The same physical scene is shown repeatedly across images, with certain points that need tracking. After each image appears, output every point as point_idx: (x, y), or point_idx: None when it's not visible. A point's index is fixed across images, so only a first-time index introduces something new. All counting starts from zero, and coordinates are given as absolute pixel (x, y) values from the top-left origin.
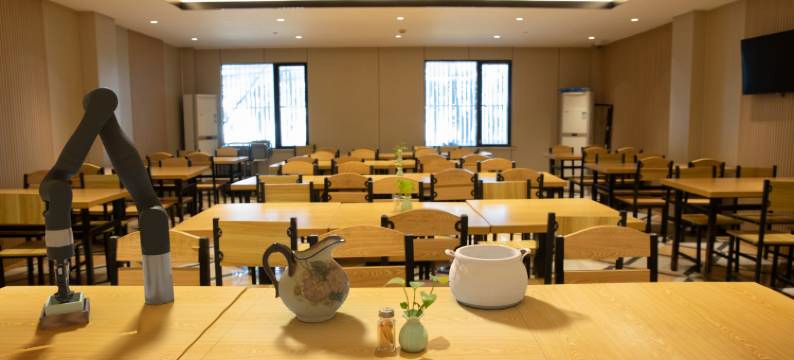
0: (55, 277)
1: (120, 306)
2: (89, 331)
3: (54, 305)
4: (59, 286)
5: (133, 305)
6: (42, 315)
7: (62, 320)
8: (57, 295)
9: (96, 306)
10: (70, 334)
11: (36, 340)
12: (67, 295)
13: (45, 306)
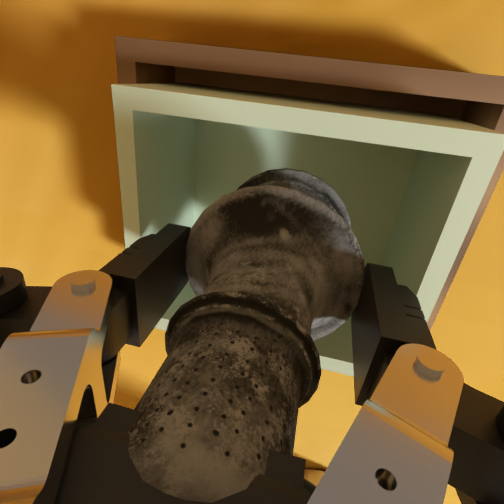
0: (5, 344)
1: (354, 411)
2: (91, 253)
3: (119, 162)
4: (44, 287)
5: (329, 440)
6: (165, 59)
7: None
8: (212, 217)
9: (446, 350)
10: (82, 185)
11: (49, 21)
12: (182, 284)
13: (116, 90)
